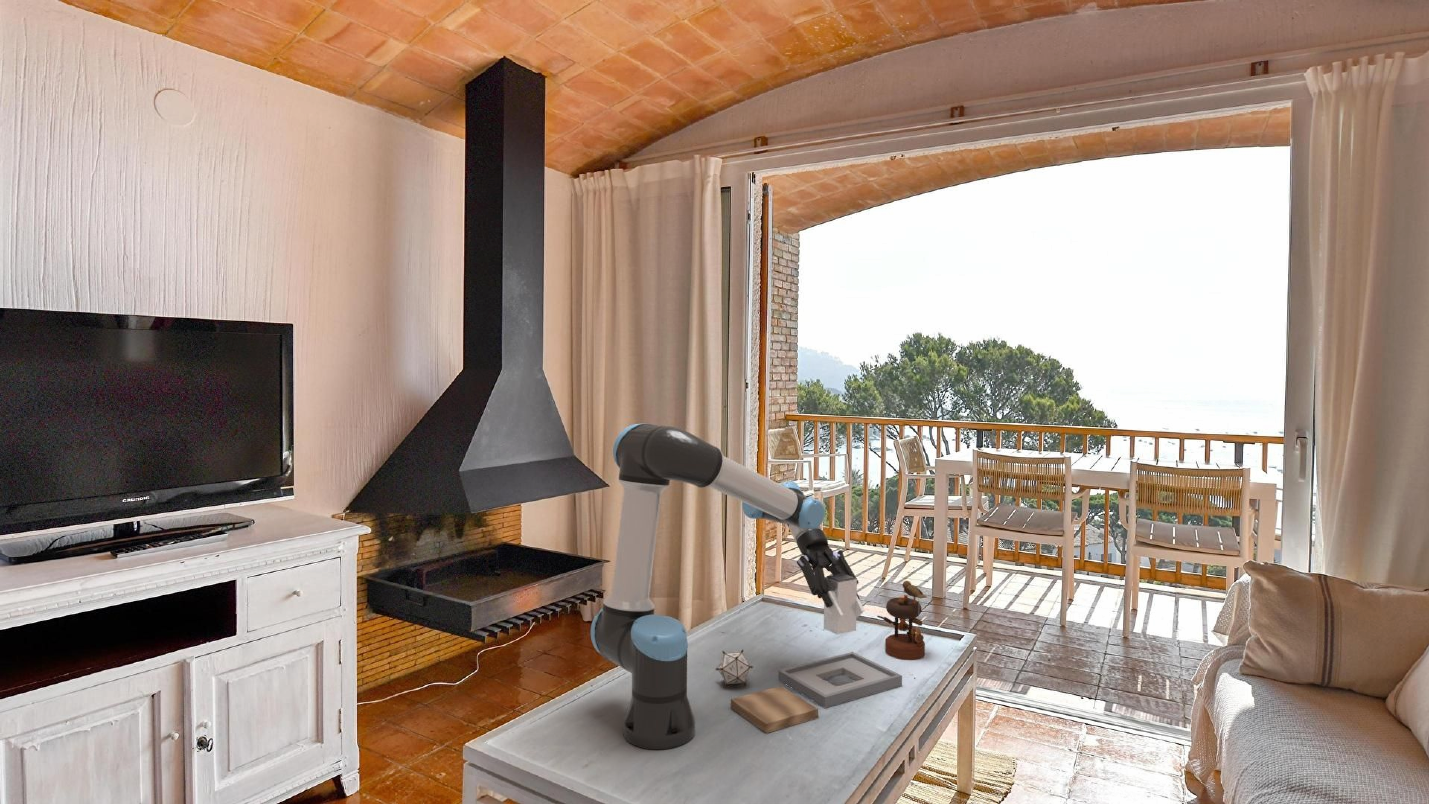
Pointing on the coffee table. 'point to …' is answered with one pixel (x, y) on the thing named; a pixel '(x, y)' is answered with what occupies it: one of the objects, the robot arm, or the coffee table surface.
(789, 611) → the coffee table surface
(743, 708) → the board
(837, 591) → the block
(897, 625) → the music box
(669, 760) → the coffee table surface
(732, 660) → the game die
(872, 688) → the grey flat frame
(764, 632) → the coffee table surface
